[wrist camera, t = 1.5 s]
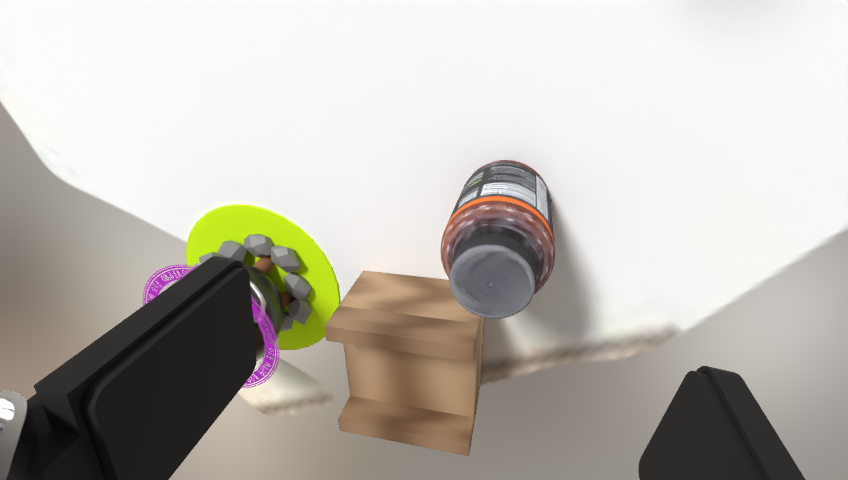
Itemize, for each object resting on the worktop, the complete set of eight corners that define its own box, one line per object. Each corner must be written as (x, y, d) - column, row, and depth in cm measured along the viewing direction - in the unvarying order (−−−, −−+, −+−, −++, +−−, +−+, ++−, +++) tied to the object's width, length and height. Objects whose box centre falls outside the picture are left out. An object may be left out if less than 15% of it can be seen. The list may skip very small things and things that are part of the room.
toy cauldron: (294, 184, 33) (195, 248, 24) (366, 338, 38) (309, 442, 29) (158, 224, 38) (31, 291, 29) (238, 355, 44) (153, 449, 34)
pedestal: (486, 284, 33) (473, 347, 26) (480, 381, 37) (468, 455, 31) (363, 270, 35) (324, 326, 29) (372, 364, 39) (339, 430, 33)
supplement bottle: (525, 251, 31) (519, 356, 21) (449, 217, 31) (409, 305, 21) (567, 179, 28) (583, 263, 18) (484, 142, 28) (455, 205, 18)
